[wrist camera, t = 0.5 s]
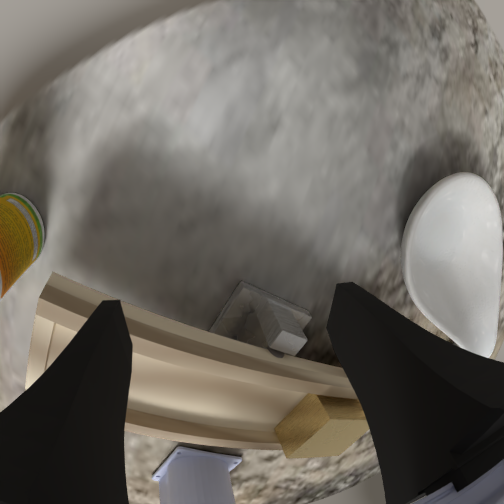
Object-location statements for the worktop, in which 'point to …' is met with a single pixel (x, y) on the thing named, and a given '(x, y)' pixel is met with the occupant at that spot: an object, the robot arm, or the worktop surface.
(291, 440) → the block
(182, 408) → the beam
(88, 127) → the worktop surface
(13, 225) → the supplement bottle
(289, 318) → the stand
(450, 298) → the spoon rest
